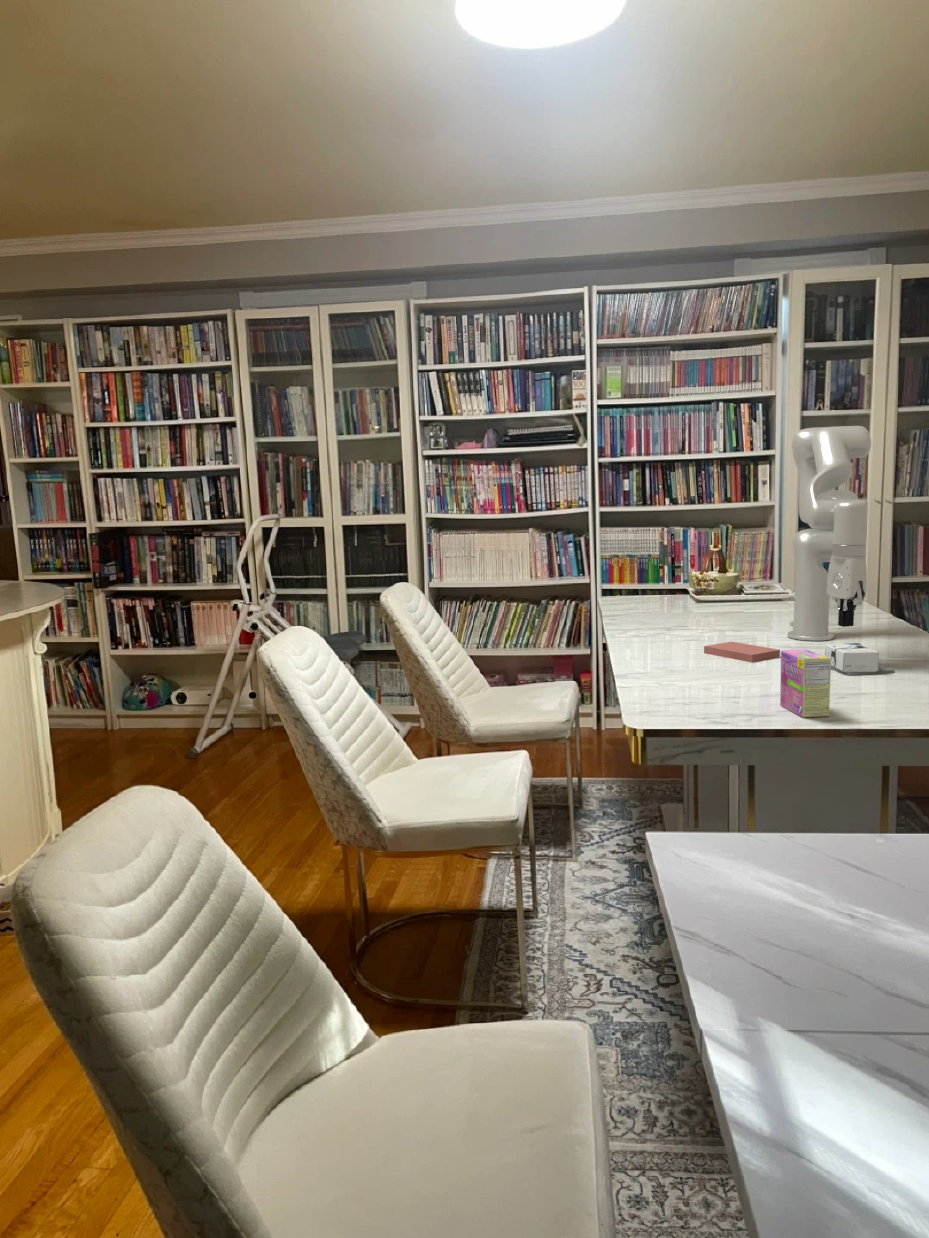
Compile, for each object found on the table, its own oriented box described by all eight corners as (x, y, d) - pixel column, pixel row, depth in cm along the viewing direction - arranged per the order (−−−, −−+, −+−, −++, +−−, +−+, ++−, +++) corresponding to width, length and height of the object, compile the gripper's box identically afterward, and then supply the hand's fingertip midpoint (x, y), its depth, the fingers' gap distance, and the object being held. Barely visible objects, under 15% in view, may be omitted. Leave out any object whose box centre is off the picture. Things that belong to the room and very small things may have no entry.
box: (778, 705, 187) (780, 649, 185) (805, 704, 187) (807, 648, 186) (801, 718, 177) (803, 659, 175) (829, 717, 177) (832, 658, 175)
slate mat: (806, 661, 230) (806, 658, 230) (848, 658, 232) (848, 656, 232) (849, 675, 213) (849, 673, 213) (894, 672, 215) (894, 670, 215)
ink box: (859, 642, 224) (879, 651, 213) (858, 661, 225) (878, 671, 213) (824, 643, 224) (843, 652, 213) (823, 662, 225) (842, 672, 214)
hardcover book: (703, 655, 244) (704, 646, 243) (731, 650, 249) (731, 641, 249) (751, 664, 230) (752, 654, 230) (779, 659, 236) (780, 649, 236)
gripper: (817, 550, 227) (814, 622, 230) (854, 554, 212) (850, 631, 215) (844, 549, 228) (841, 620, 231) (882, 553, 214) (878, 629, 216)
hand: (845, 625), depth 223 cm, fingers closed
